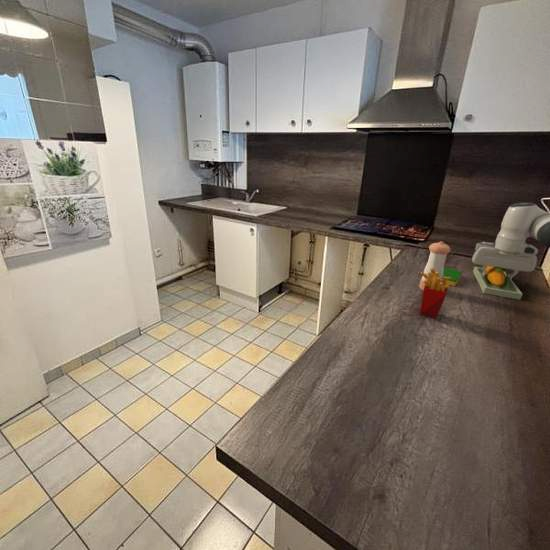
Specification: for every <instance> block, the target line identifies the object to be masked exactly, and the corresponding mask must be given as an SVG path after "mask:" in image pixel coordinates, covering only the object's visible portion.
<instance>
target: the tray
mask: <svg viewBox="0 0 550 550" xmlns="http://www.w3.org/2000/svg"><path fill="white" fill-rule="evenodd" d="M483 271H484V270H483V268H482V267H479V266H474V267H473V270H472V273H473V275H474V277H475V278H476V281H477V283H478V285H479V287H480V289H481V291H482V293H483V294H486V295H491V296H496V297H503V298H506V299H507V298H508V299H514V300H522V298H523V292H522V291H521V290H520V288H519V287H518V286H517V285H516V284H515V283H514V281H513V279H512V280H508V279H506V281H507V285H506V287H505V288H501V287H500V286H496V285H493V284H492V283H491V284H489V283H488V281H487V280H486V278H485V276H483ZM504 274H505V278H506V277H507V274H508V273H507V274H506V273H505V272H504Z"/></svg>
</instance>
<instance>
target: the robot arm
mask: <svg viewBox="0 0 550 550" xmlns="http://www.w3.org/2000/svg"><path fill="white" fill-rule="evenodd" d="M528 238H533V239H534V240H536V241H538V242H539V243H540V244H542V245H543V246H544V247H546V248H550V212H548V211H545V209H543V208H540V207H539V206H538V205H537V204H536V203H534V202H526V201H525V202H523V201H522V202H516V203H512V204H511V205H510V206H508V207H507V210H506V212H505V214H504V216H503V218H502V221H501V224H500V231H499V232H498V233H497V235H496V238H495V241H494V242H486V241H481V242H478V243H476V245H475V248H474V253H473V255H472V258H471V261H472V263H473V264H474V265H478V266H479V265H480V266H482V267H481V268H483V270H484V271H483V276H488V274H489V272H488V271H486V269H485V268H487V267H488V266H492V267H499V268H505V269H507V270H511V271H512V272H510V274H509V273H507V277H506V279H508V280H512V281H513V279H514V277H515V276H516V275H518V274H519V272H527V273H532V272H533V271H534V270H535V269H536V266H537V262H538V257H537V254H538V253H539V249H538V248H537V247H536V246H534V245H533V244H530V243H527V242H526V240H527V239H528Z"/></svg>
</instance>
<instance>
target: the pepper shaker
mask: <svg viewBox="0 0 550 550" xmlns="http://www.w3.org/2000/svg"><path fill="white" fill-rule="evenodd" d="M428 250H429V257H428V260H427V262H426V265H425V268H424V269H423V272H424V273H426V274H427V276H428V273H431V274H432V272H431V270H430V269H431V268H433V269H434V271H435V272H438V273H439V277H440V281H441V280H442V277H443V271H444V268H445V263H446V259H447V255H449V254H450V252H451V247H450V245H448V244H446V243H445V242H444V241H439V242H433V243H431V244H430V245H429V247H428ZM424 280H426V279H425V277H424V276H423V275H422V277H421V278H420V281H419V285H418V288H419V289H420V290H421V291H424V287H425V283H424V282H423V281H424ZM426 281H427V280H426ZM431 281H433V279H431Z"/></svg>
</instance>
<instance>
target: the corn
mask: <svg viewBox="0 0 550 550" xmlns="http://www.w3.org/2000/svg"><path fill="white" fill-rule="evenodd" d="M485 269H486V271H488V272H489V274H488V276H485V278H486V280H487V281H488V283H489V284H491V283H492V284H493V285H496V286H500V287H501V288H505V287H506V285H507V281H506V278H505V274H504V272H505V273H506V274H508V269H505V268H499V267H492V266H488V267H487V268H485Z"/></svg>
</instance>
